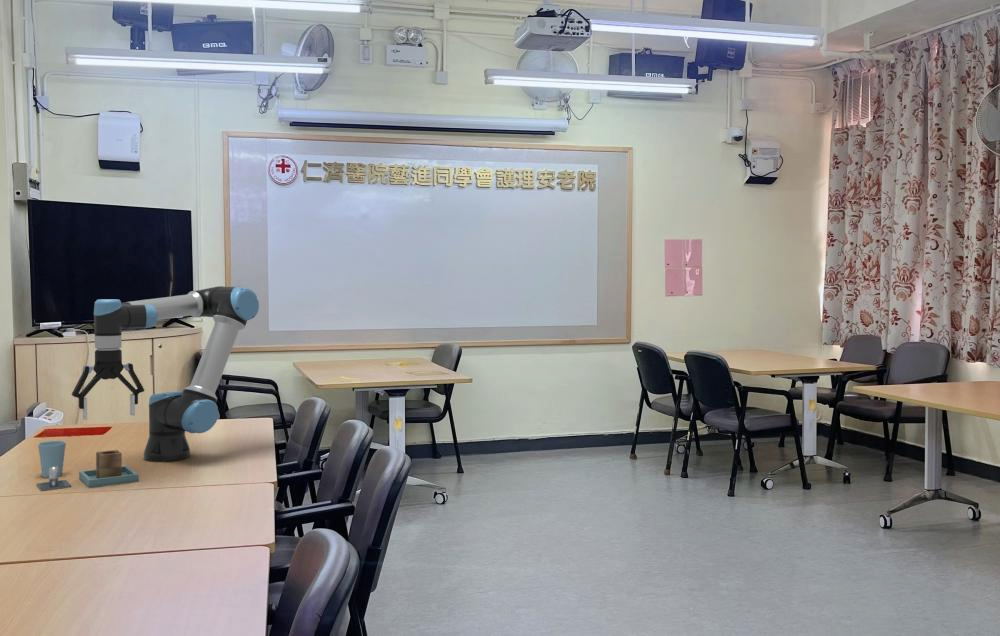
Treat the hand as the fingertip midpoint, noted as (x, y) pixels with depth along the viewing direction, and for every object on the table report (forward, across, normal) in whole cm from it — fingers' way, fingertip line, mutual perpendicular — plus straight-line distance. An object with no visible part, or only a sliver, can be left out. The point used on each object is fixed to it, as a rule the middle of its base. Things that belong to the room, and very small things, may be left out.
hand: (109, 417), depth 249 cm
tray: (+20, 0, 0) cm, 20 cm away
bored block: (+19, 0, 0) cm, 19 cm away
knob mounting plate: (+20, +15, -1) cm, 25 cm away
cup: (+20, +13, -16) cm, 29 cm away
